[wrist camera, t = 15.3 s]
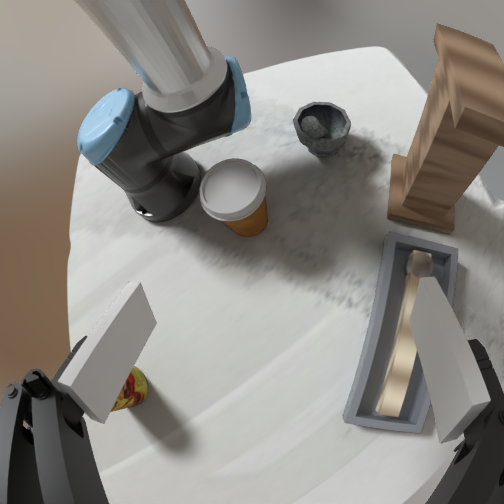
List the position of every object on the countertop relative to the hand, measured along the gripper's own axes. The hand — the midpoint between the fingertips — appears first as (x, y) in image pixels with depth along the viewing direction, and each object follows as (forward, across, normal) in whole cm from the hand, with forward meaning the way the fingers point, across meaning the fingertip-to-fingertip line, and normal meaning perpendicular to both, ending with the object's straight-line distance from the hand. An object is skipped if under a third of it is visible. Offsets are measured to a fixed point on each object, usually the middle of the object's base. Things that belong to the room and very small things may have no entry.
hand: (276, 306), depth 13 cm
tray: (+20, +16, -24) cm, 35 cm away
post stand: (+37, +22, -8) cm, 44 cm away
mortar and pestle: (+45, +5, -1) cm, 46 cm away
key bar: (+20, +16, -23) cm, 34 cm away
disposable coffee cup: (+35, -8, -11) cm, 38 cm away
